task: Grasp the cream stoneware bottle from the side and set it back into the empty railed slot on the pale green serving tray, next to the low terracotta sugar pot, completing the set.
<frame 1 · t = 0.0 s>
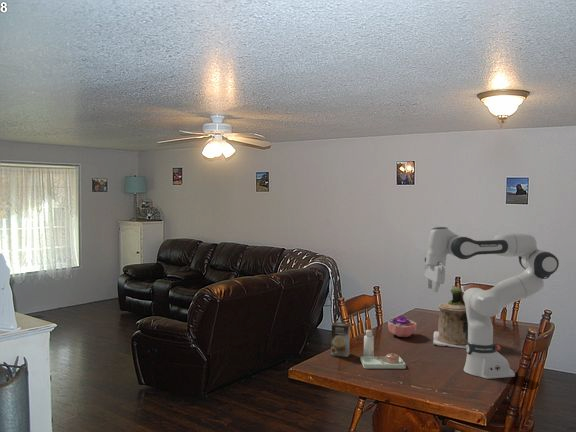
hand: (432, 290, 239), 39 cm above the table, tool pointing down, fingers open, 8 cm apart
coffee box: (340, 354, 266), on the table
sugar pot: (392, 364, 251), resting on tray
tray: (382, 364, 251), on the table
bottle: (368, 357, 261), on the table
cookie jar: (455, 342, 291), on the table
cell model: (401, 336, 303), on the table
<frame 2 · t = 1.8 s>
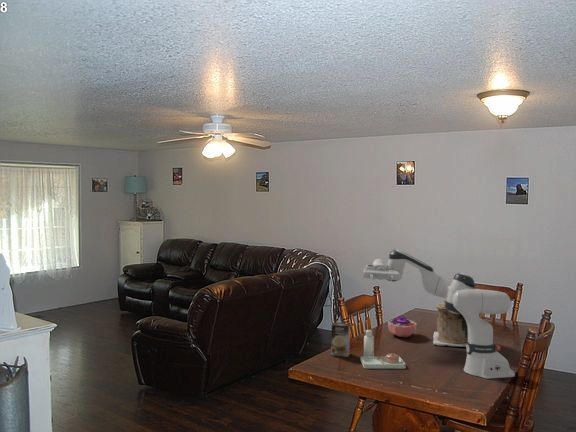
hand: (382, 278, 276), 38 cm above the table, tool horizontal, fingers open, 8 cm apart
cookie jar: (455, 341, 291), on the table, touching arm
everything else where it was.
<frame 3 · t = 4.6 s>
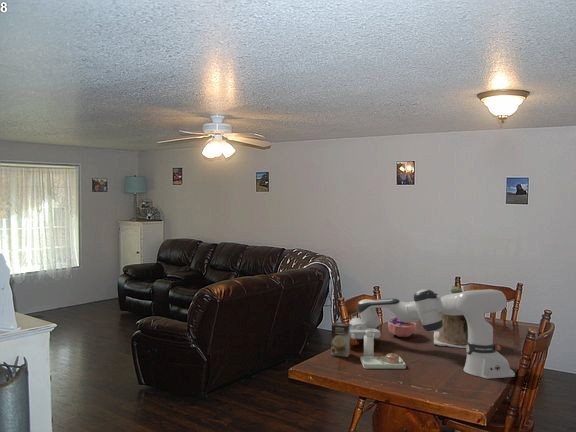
hand: (363, 337, 272), 7 cm above the table, tool horizontal, fingers open, 8 cm apart
cookie jar: (455, 342, 291), on the table
everything else where it was.
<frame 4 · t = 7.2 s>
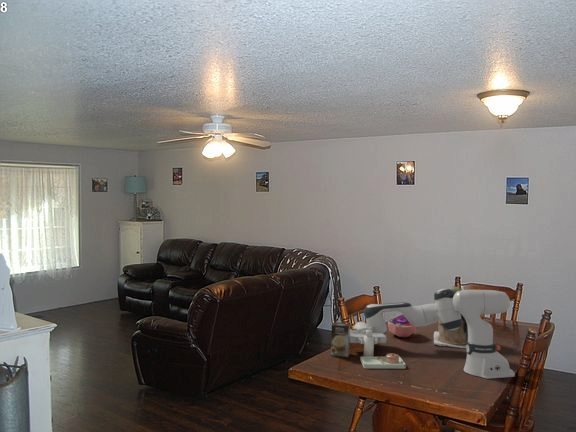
hand: (369, 342, 260), 8 cm above the table, tool horizontal, fingers closed on bottle, 5 cm apart
bottle: (368, 357, 261), on the table, touching gripper
everything else where it was.
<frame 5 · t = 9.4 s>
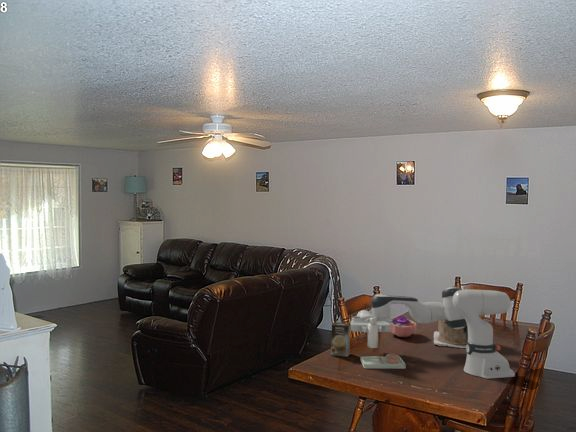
hand: (373, 330, 249), 17 cm above the table, tool horizontal, fingers closed on bottle, 5 cm apart
bottle: (372, 346, 250), point 9 cm above the table, touching gripper
everything else where it was.
when the fingers open (11 cm above the table, at t = 11.3 s): bottle drops 1 cm, resting on tray.
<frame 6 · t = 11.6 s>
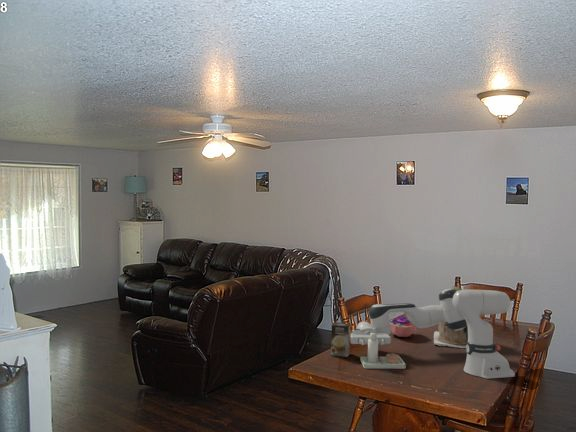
hand: (372, 343, 249), 11 cm above the table, tool horizontal, fingers open, 8 cm apart
bottle: (372, 361, 251), point 1 cm above the table, touching tray
everything else where it was.
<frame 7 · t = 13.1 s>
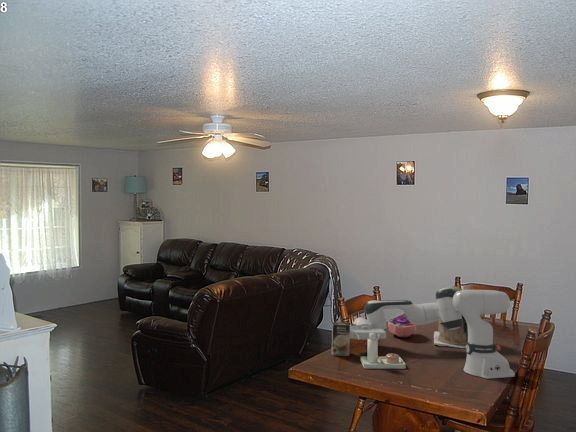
hand: (368, 338, 260), 10 cm above the table, tool horizontal, fingers open, 8 cm apart
coffee box: (340, 354, 267), on the table
everything else where it was.
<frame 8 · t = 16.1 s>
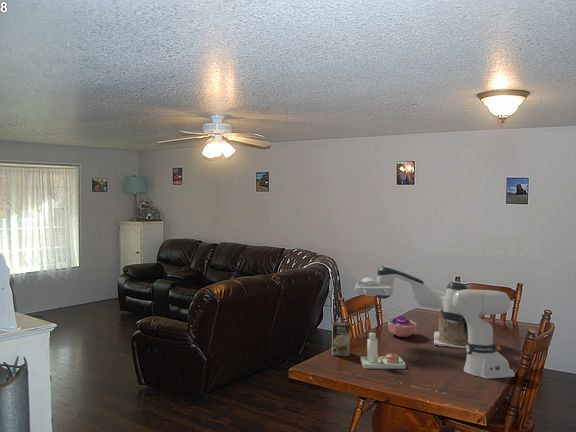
hand: (376, 292, 268), 32 cm above the table, tool horizontal, fingers open, 8 cm apart
nothing on the table moved.
at the end: bottle inside the target area on the tray (0.2 cm from its centre), point 1.2 cm above the tray's base; bottle tilted 1°; the gripper is holding nothing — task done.
